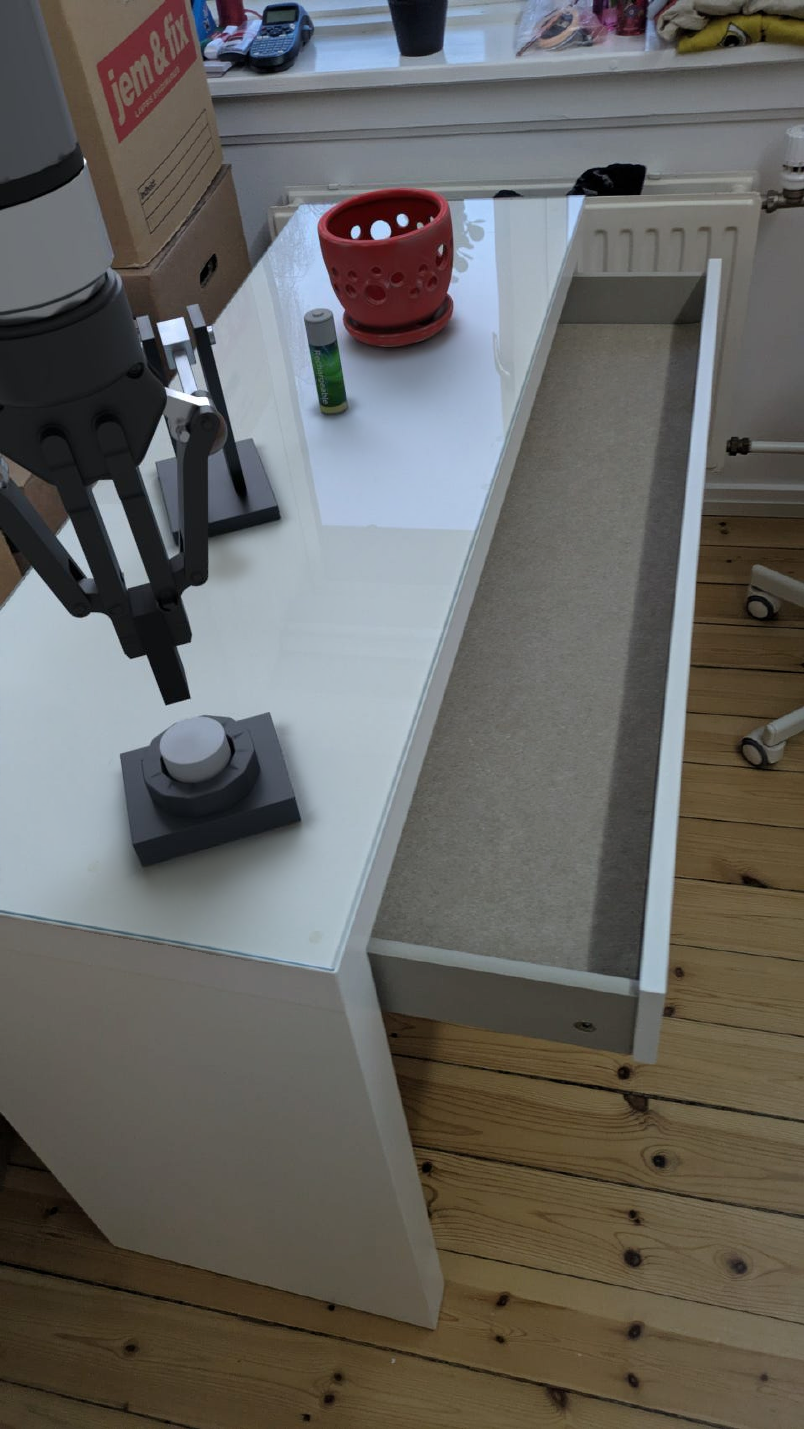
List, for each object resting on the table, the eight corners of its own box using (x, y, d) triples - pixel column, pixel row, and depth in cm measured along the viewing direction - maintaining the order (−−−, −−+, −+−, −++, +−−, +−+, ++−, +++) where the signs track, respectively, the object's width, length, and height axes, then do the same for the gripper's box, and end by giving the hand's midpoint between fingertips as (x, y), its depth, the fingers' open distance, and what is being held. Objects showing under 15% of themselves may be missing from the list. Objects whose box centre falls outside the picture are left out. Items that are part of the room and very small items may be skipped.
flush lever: (236, 459, 81) (227, 423, 78) (188, 471, 81) (178, 436, 78) (199, 345, 88) (190, 308, 85) (155, 355, 88) (145, 318, 84)
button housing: (142, 867, 66) (123, 825, 64) (129, 776, 72) (111, 734, 69) (301, 820, 68) (289, 777, 65) (276, 734, 73) (264, 691, 70)
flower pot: (351, 302, 120) (334, 188, 112) (469, 300, 117) (460, 183, 109) (321, 359, 111) (300, 240, 103) (447, 358, 108) (437, 236, 100)
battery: (315, 407, 104) (297, 312, 98) (339, 398, 105) (323, 302, 99) (328, 418, 103) (311, 322, 96) (353, 408, 103) (338, 312, 97)
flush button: (171, 791, 66) (163, 771, 64) (163, 746, 68) (155, 727, 67) (236, 772, 66) (229, 752, 65) (225, 729, 69) (218, 709, 68)
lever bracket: (281, 518, 92) (240, 340, 81) (176, 545, 90) (120, 368, 79) (255, 450, 100) (215, 279, 89) (158, 474, 99) (106, 304, 88)
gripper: (169, 223, 50) (271, 618, 66) (-119, 288, 48) (59, 677, 65) (192, 284, 45) (297, 698, 61) (-130, 359, 43) (67, 763, 60)
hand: (174, 686), depth 63 cm, fingers closed
